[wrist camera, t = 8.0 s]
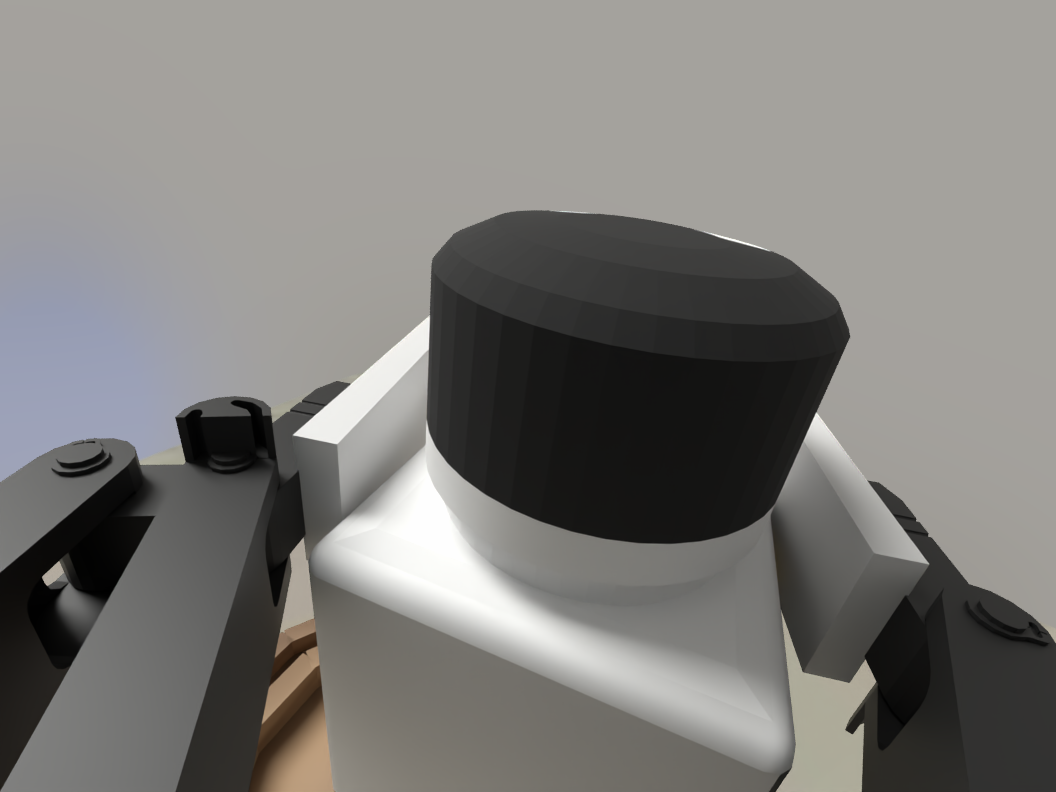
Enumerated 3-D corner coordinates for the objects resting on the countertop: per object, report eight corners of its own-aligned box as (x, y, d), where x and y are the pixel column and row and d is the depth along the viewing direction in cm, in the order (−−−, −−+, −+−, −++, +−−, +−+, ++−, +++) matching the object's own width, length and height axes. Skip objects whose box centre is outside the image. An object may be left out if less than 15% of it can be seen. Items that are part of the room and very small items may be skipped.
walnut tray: (579, 618, 29) (586, 588, 28) (694, 1186, 14) (721, 1170, 12) (255, 616, 27) (249, 583, 26) (-60, 1297, 11) (-111, 1290, 10)
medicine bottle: (656, 985, 9) (1086, 382, 3) (325, 796, 11) (250, 205, 5) (687, 651, 15) (857, 241, 9) (472, 567, 17) (510, 183, 11)
